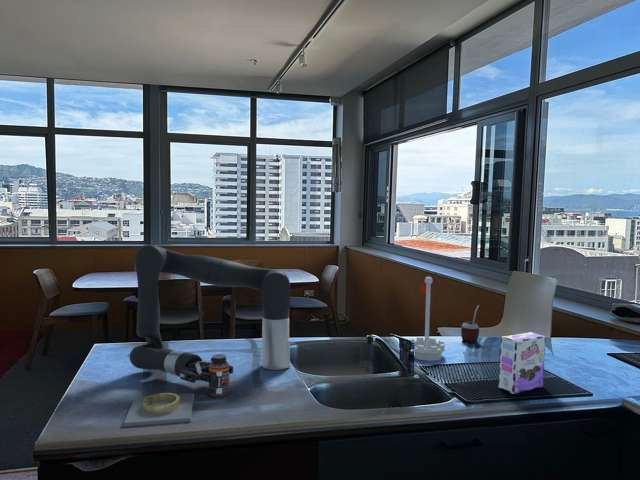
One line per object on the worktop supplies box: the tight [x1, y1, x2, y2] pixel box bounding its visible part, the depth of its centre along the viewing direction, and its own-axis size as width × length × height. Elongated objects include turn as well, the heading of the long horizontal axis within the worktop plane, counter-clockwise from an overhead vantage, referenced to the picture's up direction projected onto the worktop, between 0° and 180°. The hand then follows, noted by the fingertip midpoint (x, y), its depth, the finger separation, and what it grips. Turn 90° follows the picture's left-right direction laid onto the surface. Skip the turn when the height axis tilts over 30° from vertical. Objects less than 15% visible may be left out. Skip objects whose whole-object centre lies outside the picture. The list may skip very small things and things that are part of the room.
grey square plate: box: [123, 392, 195, 428], centre depth 125 cm, size 16×16×1 cm
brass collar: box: [143, 392, 180, 415], centre depth 125 cm, size 9×9×2 cm
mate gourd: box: [460, 304, 480, 345], centre depth 193 cm, size 8×8×15 cm
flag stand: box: [409, 276, 446, 362], centre depth 174 cm, size 13×13×30 cm
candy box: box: [498, 331, 546, 395], centre depth 144 cm, size 14×6×16 cm, turn 117°
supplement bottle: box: [208, 353, 230, 398], centre depth 136 cm, size 6×6×11 cm
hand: (222, 374), depth 136 cm, fingers open, 8 cm apart
